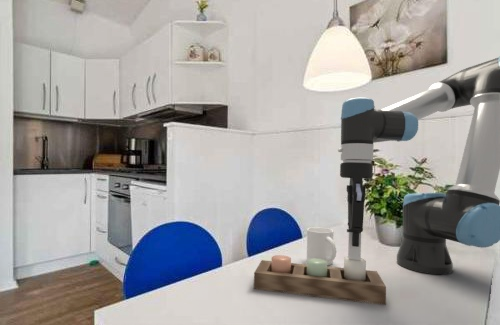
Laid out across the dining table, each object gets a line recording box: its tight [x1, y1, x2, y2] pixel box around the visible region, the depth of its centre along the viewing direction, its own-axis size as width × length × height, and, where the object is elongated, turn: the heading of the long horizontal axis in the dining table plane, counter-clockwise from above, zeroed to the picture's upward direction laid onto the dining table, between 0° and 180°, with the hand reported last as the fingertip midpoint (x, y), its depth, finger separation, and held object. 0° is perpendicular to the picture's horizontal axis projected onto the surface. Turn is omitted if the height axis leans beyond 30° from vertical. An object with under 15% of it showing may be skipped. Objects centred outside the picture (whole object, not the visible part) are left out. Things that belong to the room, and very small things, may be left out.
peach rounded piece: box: [271, 254, 292, 274], centre depth 74 cm, size 5×5×4 cm
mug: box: [306, 226, 337, 266], centre depth 91 cm, size 12×8×10 cm
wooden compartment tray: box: [253, 259, 387, 306], centre depth 72 cm, size 30×10×4 cm, turn 77°
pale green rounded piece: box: [306, 258, 328, 278], centre depth 72 cm, size 5×5×4 cm
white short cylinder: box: [343, 256, 367, 281], centre depth 70 cm, size 5×5×4 cm
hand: (354, 258), depth 70 cm, fingers closed
